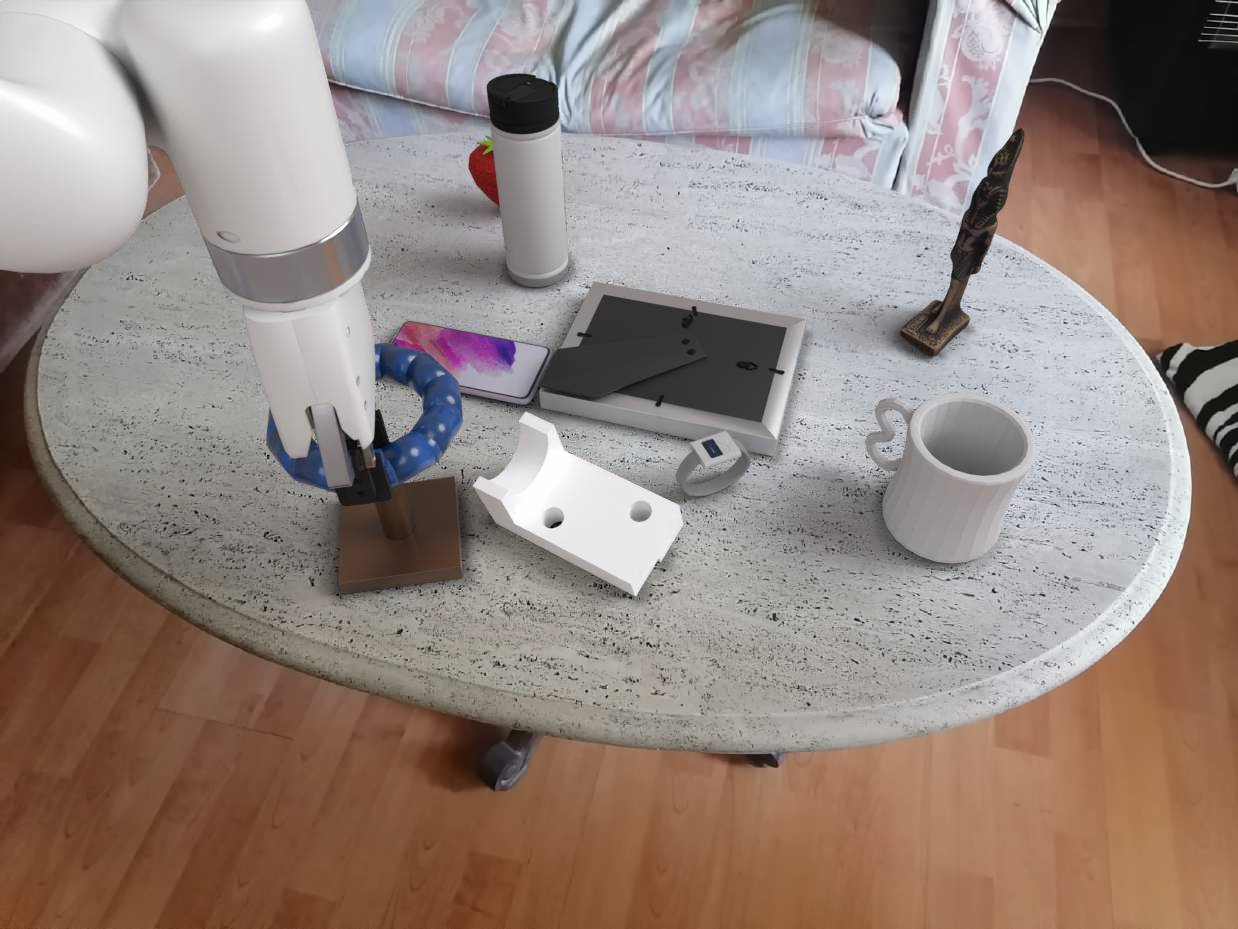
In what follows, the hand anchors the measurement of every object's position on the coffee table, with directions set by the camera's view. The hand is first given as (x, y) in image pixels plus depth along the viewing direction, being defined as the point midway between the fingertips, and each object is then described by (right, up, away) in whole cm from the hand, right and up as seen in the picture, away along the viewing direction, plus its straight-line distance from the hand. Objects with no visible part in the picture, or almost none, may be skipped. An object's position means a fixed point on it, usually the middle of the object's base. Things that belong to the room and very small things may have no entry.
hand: (367, 477), depth 61 cm
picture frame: (+21, +9, +26) cm, 35 cm away
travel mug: (+8, +20, +36) cm, 42 cm away
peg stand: (-1, -5, +13) cm, 14 cm away
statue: (+46, +13, +29) cm, 56 cm away
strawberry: (+4, +28, +43) cm, 51 cm away
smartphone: (+2, +10, +26) cm, 28 cm away
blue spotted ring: (-1, +4, +3) cm, 5 cm away
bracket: (+13, -5, +14) cm, 20 cm away
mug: (+40, -3, +15) cm, 43 cm away
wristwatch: (+24, -1, +17) cm, 29 cm away
